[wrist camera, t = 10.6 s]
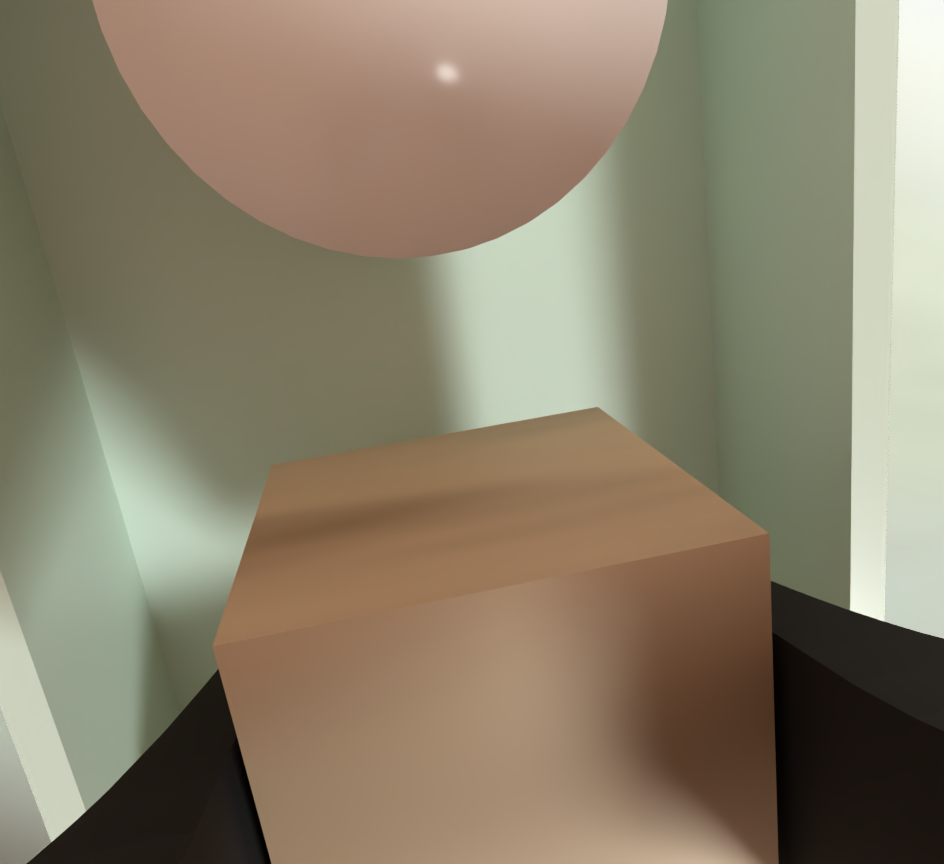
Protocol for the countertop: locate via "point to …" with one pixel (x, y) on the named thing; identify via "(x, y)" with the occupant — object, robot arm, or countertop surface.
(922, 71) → the countertop surface
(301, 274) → the tote
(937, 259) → the countertop surface
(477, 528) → the maple cube
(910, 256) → the countertop surface
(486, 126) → the pale pink egg
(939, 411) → the countertop surface
